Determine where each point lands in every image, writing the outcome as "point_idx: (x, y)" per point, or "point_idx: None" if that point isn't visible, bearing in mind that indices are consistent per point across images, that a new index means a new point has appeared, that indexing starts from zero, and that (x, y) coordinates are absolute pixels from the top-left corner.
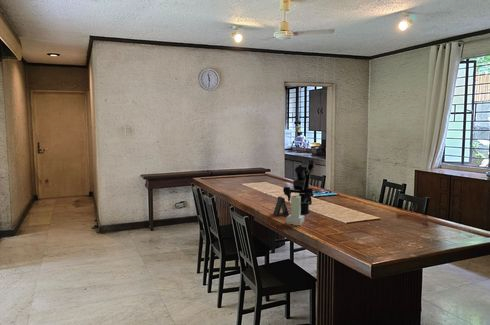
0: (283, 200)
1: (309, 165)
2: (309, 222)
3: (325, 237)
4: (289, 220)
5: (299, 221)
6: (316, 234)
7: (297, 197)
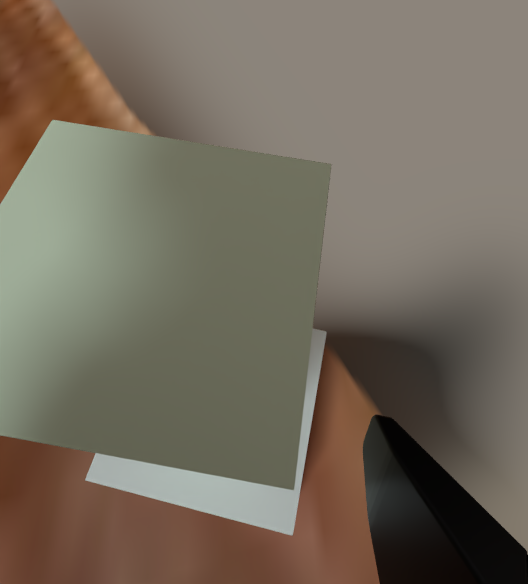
0: None
1: None
2: (57, 475)
3: (29, 77)
4: None
5: None
6: (74, 119)
7: (102, 150)
